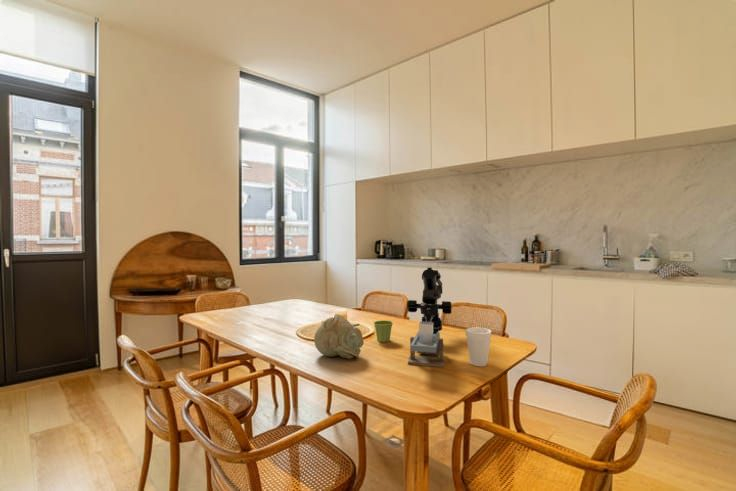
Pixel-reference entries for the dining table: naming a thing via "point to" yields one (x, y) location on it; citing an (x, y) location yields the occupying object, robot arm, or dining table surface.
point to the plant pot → (383, 330)
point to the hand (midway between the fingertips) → (428, 323)
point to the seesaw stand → (427, 357)
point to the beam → (426, 345)
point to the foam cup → (478, 345)
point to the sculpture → (338, 338)
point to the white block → (425, 332)
